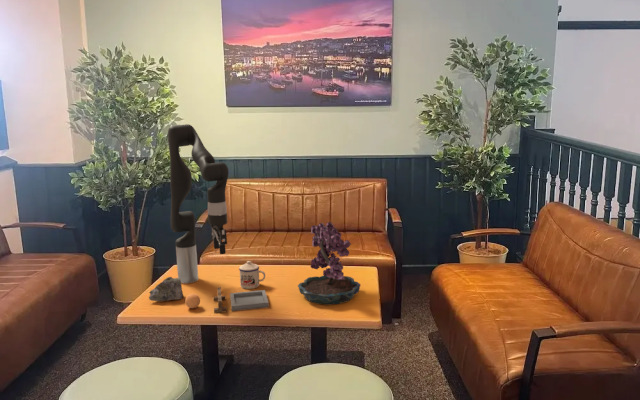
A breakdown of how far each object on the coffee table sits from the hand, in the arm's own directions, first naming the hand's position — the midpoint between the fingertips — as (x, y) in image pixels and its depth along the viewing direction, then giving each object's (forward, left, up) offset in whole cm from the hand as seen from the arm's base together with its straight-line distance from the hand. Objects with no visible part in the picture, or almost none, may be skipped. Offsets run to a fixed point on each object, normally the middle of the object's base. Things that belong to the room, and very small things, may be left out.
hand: (219, 251), depth 222 cm
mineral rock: (-23, -14, -24) cm, 36 cm away
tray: (+5, +10, -24) cm, 26 cm away
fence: (-1, -1, -24) cm, 24 cm away
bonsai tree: (+21, +41, -24) cm, 52 cm away
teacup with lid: (-11, +22, -24) cm, 34 cm away
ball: (-6, -10, -21) cm, 24 cm away
